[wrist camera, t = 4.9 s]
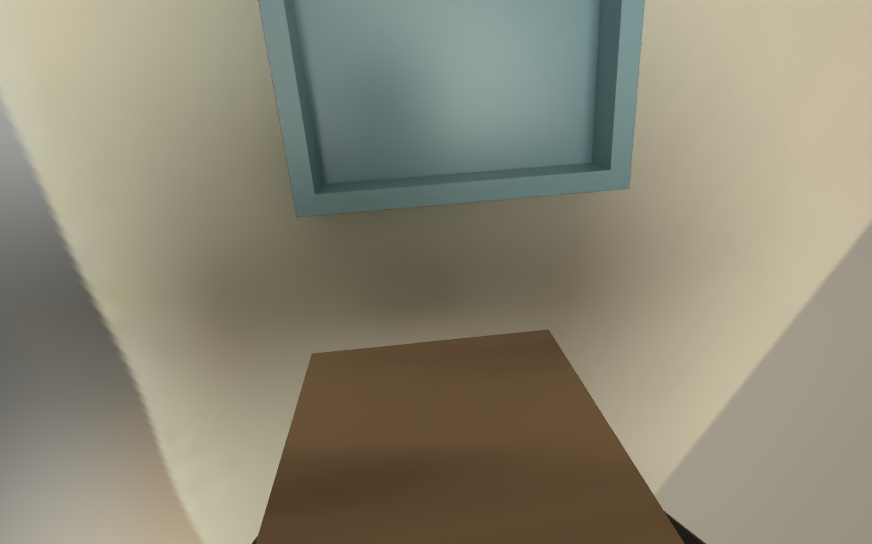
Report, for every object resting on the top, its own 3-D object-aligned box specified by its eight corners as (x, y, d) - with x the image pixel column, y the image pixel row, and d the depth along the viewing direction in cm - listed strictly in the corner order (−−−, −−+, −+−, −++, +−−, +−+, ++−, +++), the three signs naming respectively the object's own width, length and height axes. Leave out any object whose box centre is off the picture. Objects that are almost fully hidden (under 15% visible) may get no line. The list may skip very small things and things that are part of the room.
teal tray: (601, 176, 16) (629, 188, 14) (308, 201, 15) (296, 217, 14) (624, -198, 12) (665, -247, 11) (244, -183, 12) (217, -232, 10)
